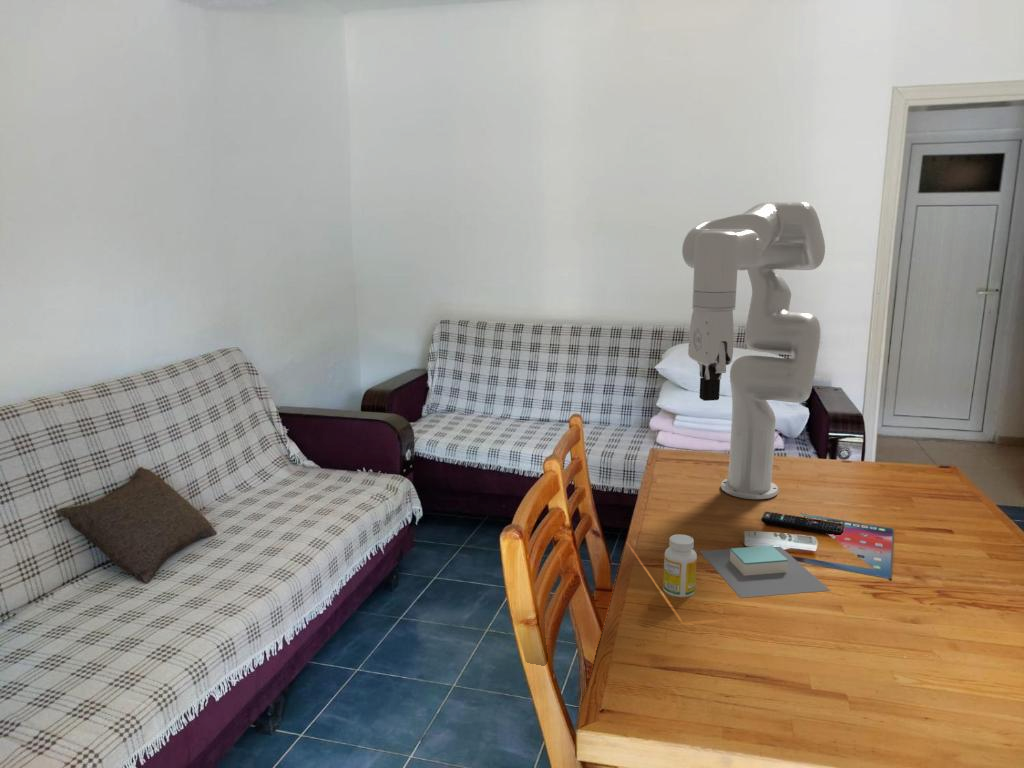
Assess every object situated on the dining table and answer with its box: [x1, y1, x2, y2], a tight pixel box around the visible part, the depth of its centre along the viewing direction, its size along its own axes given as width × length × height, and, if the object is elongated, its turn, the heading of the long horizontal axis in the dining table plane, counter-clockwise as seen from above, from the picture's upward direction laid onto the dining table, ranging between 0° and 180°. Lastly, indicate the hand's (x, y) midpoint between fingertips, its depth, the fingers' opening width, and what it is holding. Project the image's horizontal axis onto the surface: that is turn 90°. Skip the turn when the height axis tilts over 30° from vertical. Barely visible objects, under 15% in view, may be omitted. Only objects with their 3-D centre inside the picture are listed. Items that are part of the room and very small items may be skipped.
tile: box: [729, 545, 788, 576], centre depth 135 cm, size 2×8×6 cm
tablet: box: [791, 513, 895, 582], centre depth 145 cm, size 19×25×1 cm
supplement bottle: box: [662, 533, 698, 598], centre depth 126 cm, size 5×5×10 cm
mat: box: [699, 546, 831, 599], centre depth 134 cm, size 18×16×1 cm
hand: (709, 399), depth 139 cm, fingers closed
